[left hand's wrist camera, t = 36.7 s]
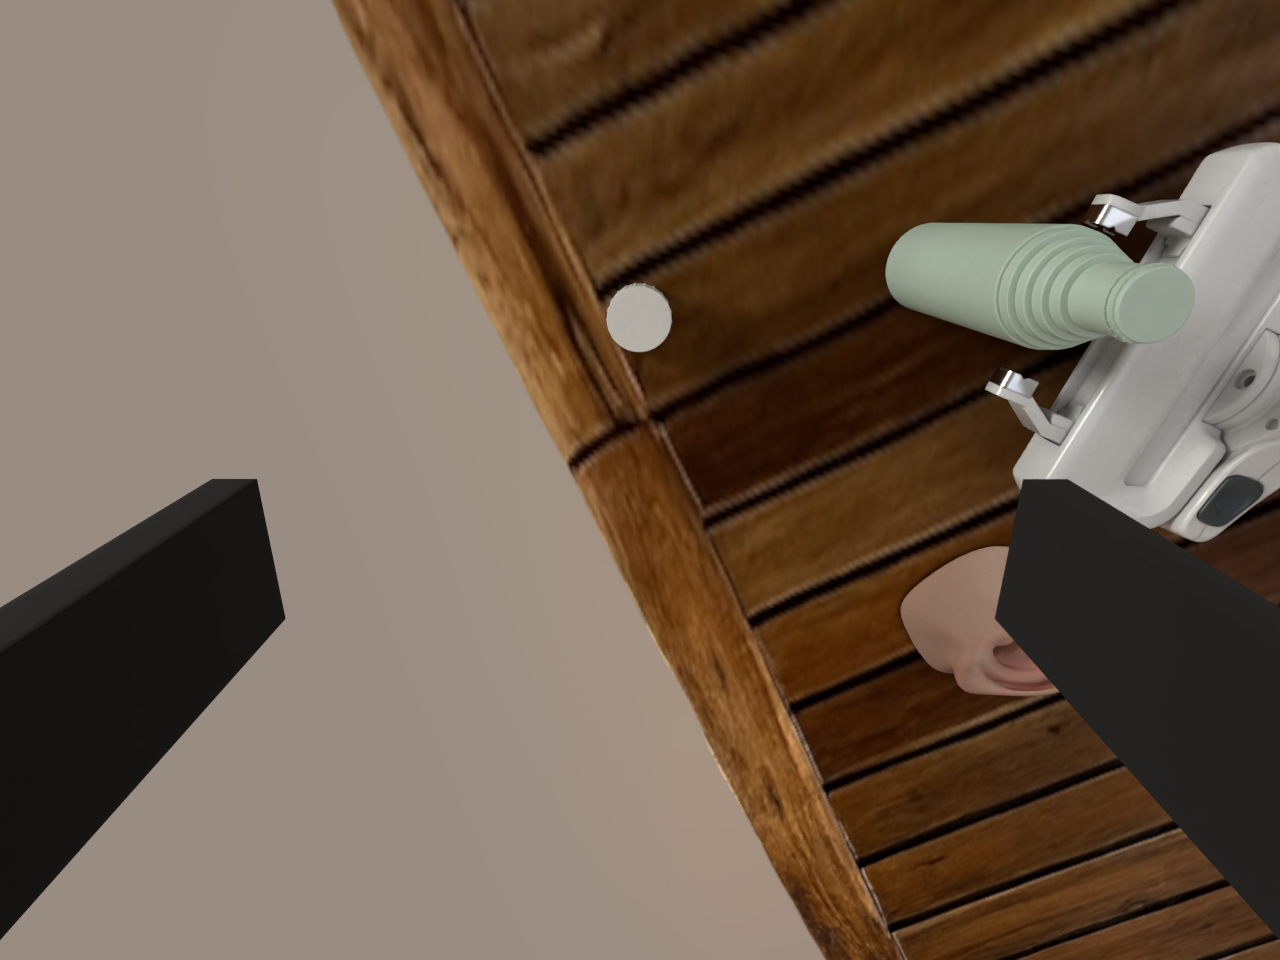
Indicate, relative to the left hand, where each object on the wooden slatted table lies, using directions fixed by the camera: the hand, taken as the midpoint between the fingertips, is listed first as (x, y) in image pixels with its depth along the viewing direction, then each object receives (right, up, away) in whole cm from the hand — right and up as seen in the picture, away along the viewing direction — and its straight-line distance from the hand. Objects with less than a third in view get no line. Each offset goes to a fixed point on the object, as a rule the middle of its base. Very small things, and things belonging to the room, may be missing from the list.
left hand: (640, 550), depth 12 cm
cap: (0, +11, +29) cm, 31 cm away
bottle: (+17, +14, +30) cm, 37 cm away
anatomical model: (+26, -9, +38) cm, 47 cm away
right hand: (+21, +11, +25) cm, 34 cm away
